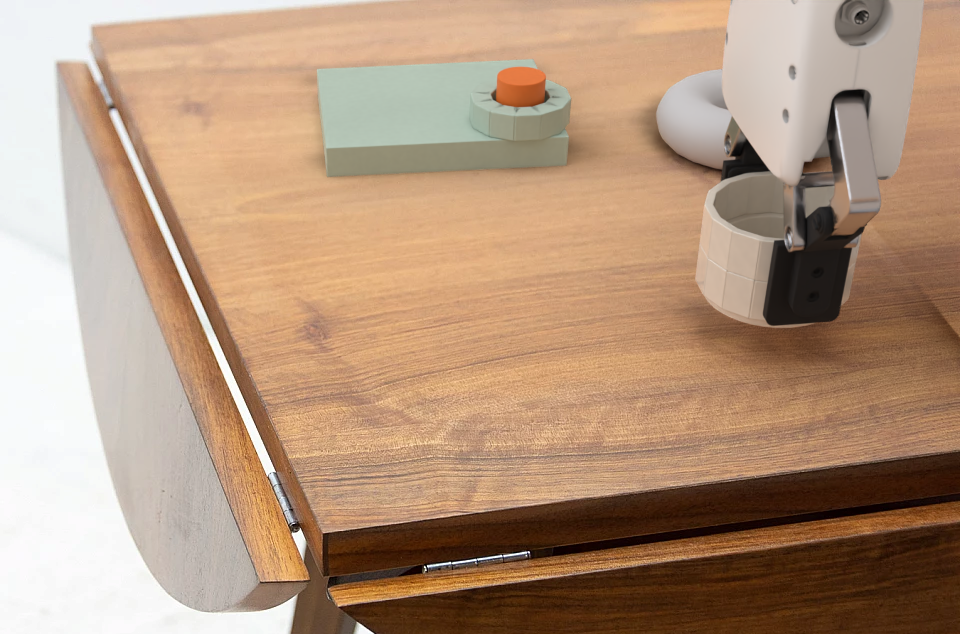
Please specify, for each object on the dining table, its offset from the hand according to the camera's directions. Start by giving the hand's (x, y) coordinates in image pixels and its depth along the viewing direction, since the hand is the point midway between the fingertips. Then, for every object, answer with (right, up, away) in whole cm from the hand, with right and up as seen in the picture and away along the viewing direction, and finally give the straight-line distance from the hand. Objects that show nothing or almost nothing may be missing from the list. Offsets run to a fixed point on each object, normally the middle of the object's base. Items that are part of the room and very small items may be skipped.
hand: (772, 273), depth 64 cm
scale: (-14, +11, +22) cm, 28 cm away
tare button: (-9, +12, +17) cm, 23 cm away
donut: (+4, +10, +19) cm, 21 cm away
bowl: (0, -1, +1) cm, 1 cm away
